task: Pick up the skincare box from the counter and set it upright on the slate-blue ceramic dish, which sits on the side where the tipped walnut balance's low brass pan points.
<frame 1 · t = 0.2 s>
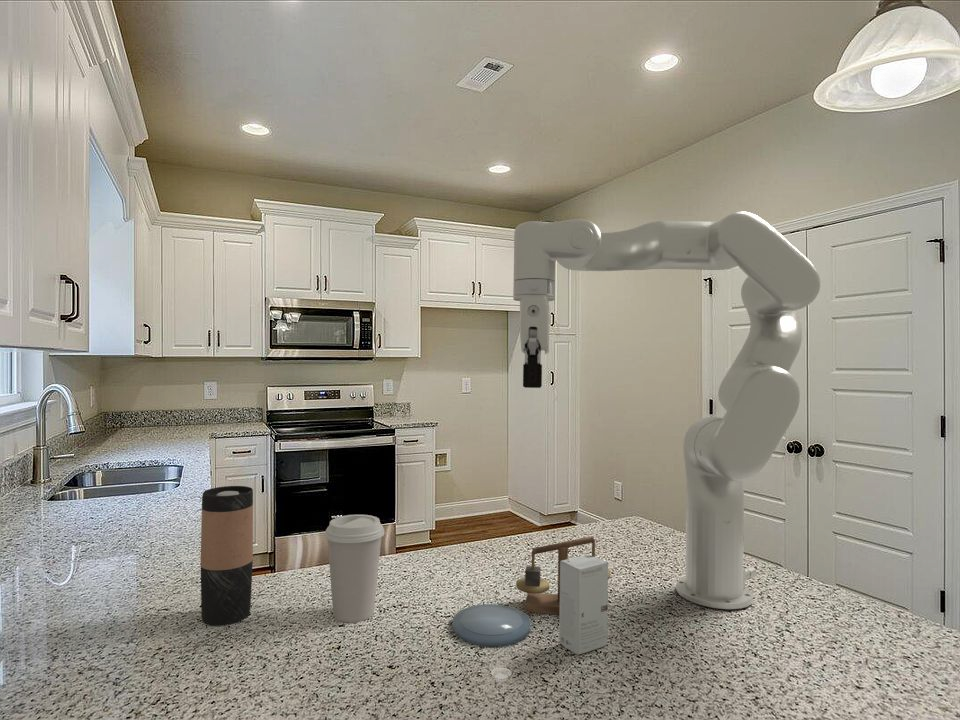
hand: (532, 386, 103), 37 cm above the countertop, tool pointing down, fingers open, 9 cm apart
balance: (562, 608, 95), on the countertop
skincare box: (583, 645, 83), on the countertop
coffee cup: (353, 614, 92), on the countertop
dish: (491, 627, 88), on the countertop
travel mug: (226, 617, 91), on the countertop
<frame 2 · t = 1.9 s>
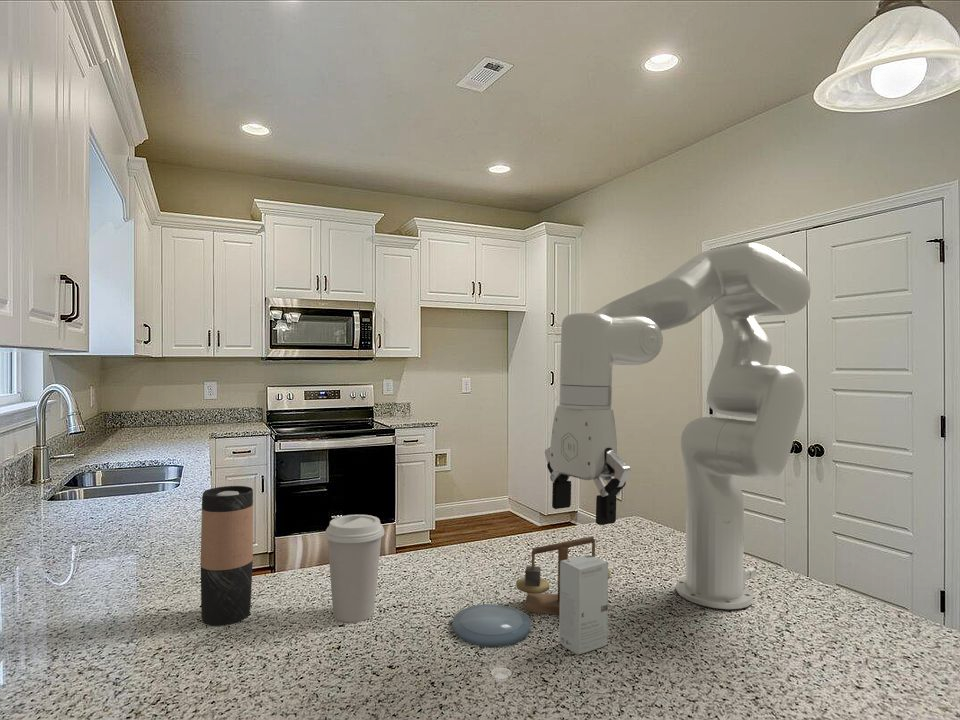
hand: (582, 515, 83), 19 cm above the countertop, tool pointing down, fingers open, 9 cm apart
nothing on the countertop moved.
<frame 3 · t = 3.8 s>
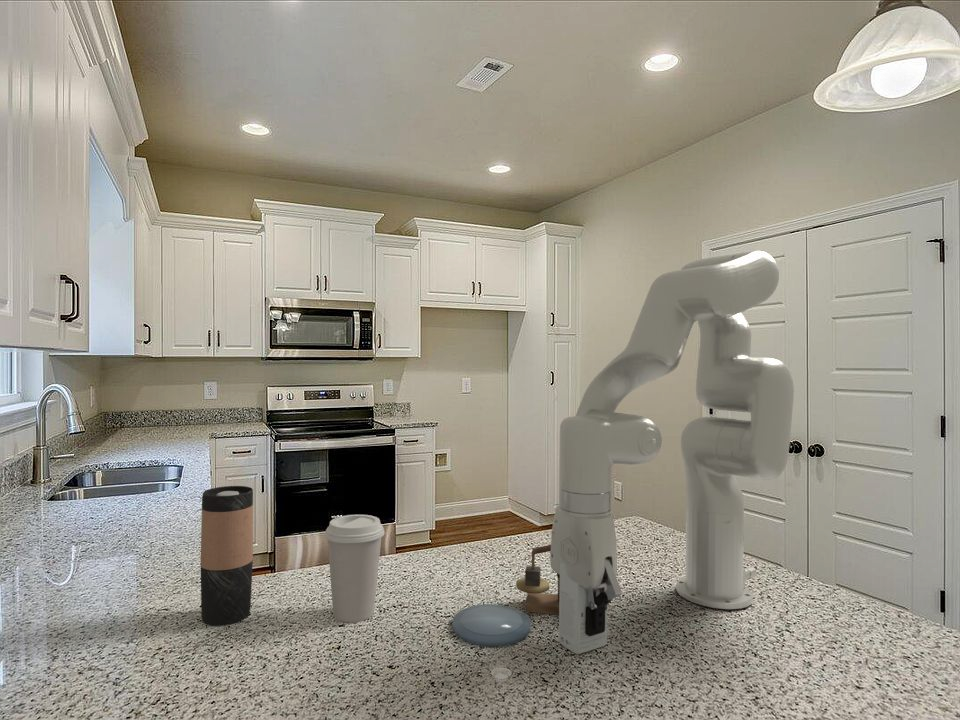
hand: (583, 624, 83), 3 cm above the countertop, tool pointing down, fingers closed on skincare box, 4 cm apart
skincare box: (582, 644, 83), on the countertop, touching gripper
everything else where it was.
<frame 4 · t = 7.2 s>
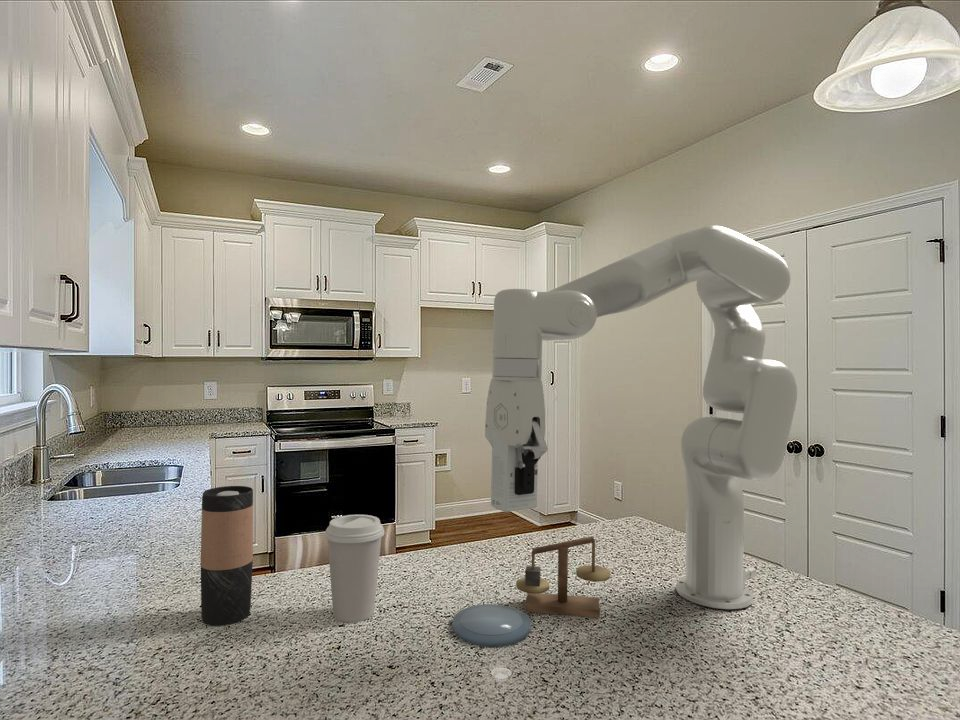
hand: (514, 489, 87), 22 cm above the countertop, tool pointing down, fingers closed on skincare box, 4 cm apart
skincare box: (513, 508, 87), point 19 cm above the countertop, touching gripper
everything else where it was.
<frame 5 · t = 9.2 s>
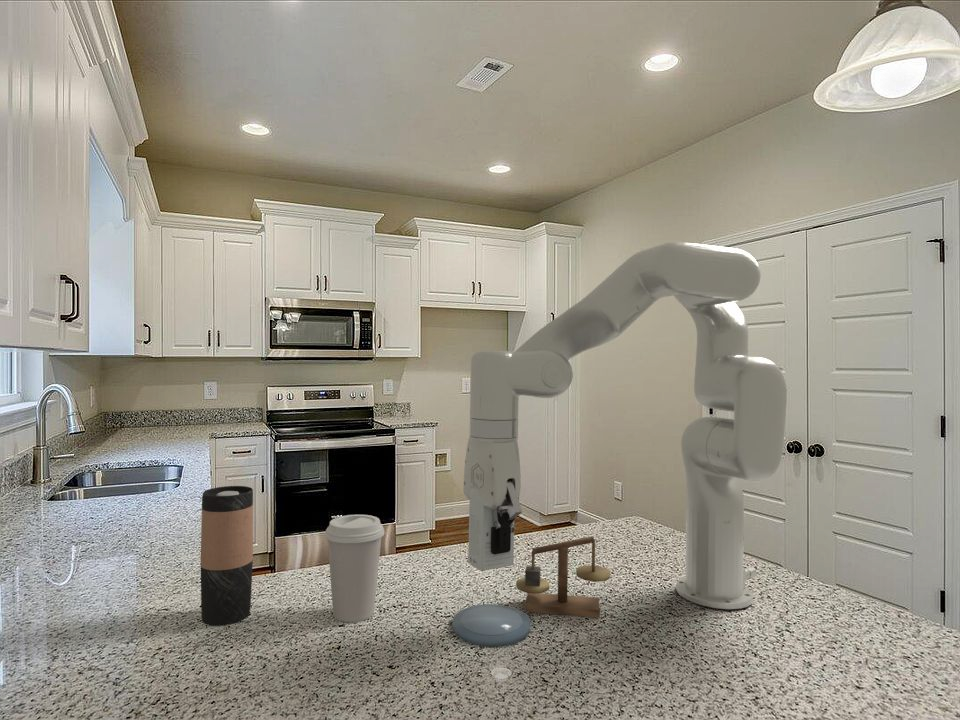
hand: (491, 546, 88), 12 cm above the countertop, tool pointing down, fingers closed on skincare box, 4 cm apart
skincare box: (491, 565, 88), point 10 cm above the countertop, touching gripper
everything else where it was.
when the fingers open (5 cm above the countertop, at t = 10.9 s): skincare box drops 1 cm, resting on dish.
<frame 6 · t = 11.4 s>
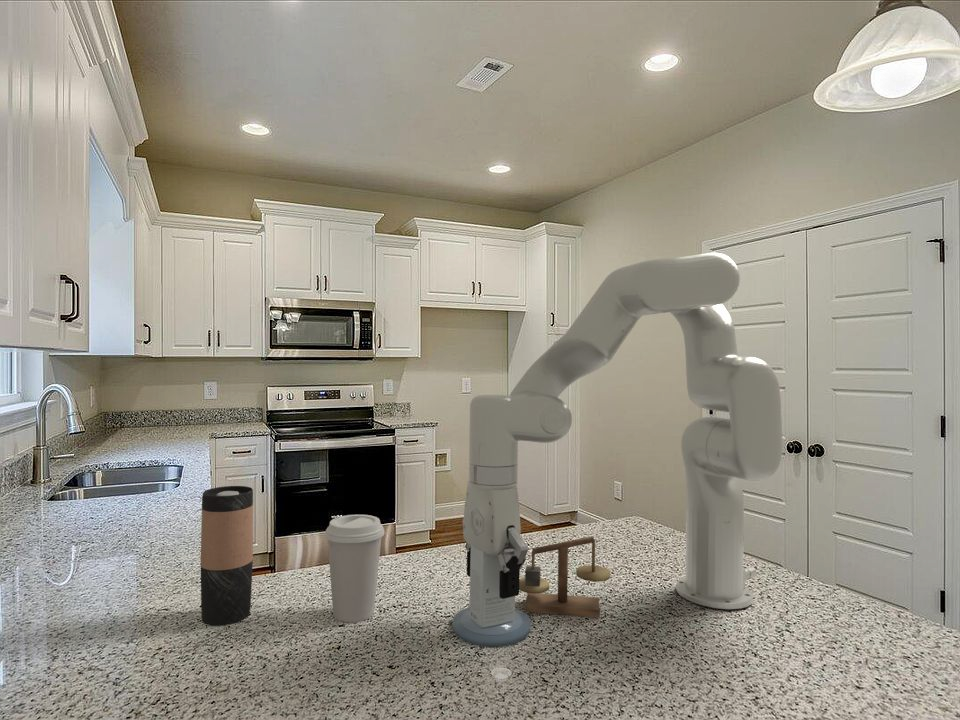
hand: (491, 585, 88), 6 cm above the countertop, tool pointing down, fingers open, 9 cm apart
skincare box: (492, 620, 88), point 1 cm above the countertop, touching dish
everything else where it was.
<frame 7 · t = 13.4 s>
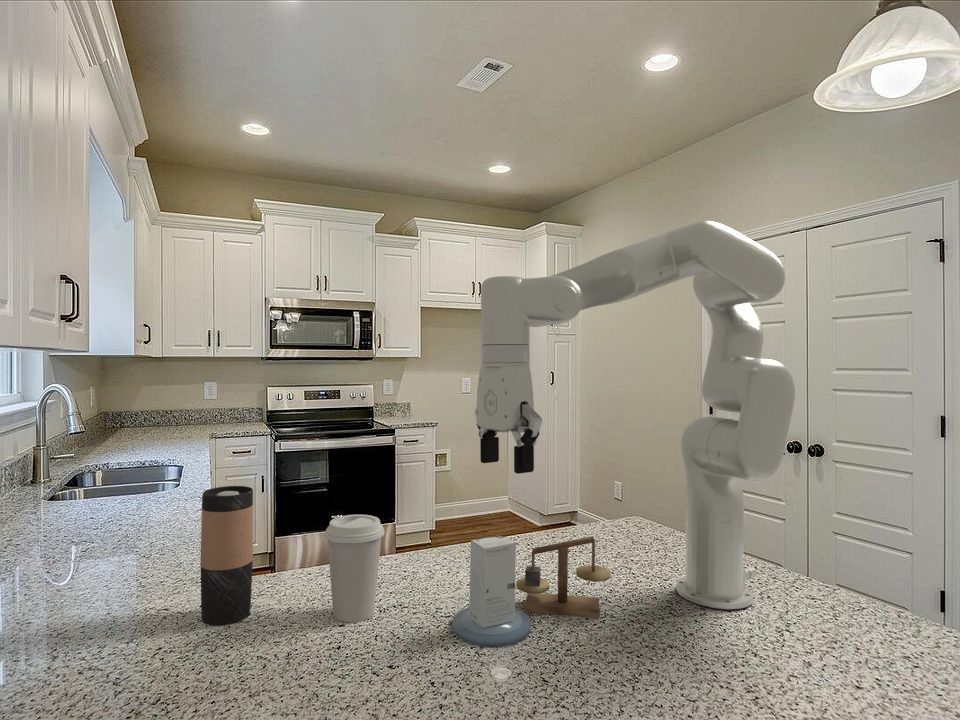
hand: (506, 467, 88), 25 cm above the countertop, tool pointing down, fingers open, 9 cm apart
nothing on the countertop moved.
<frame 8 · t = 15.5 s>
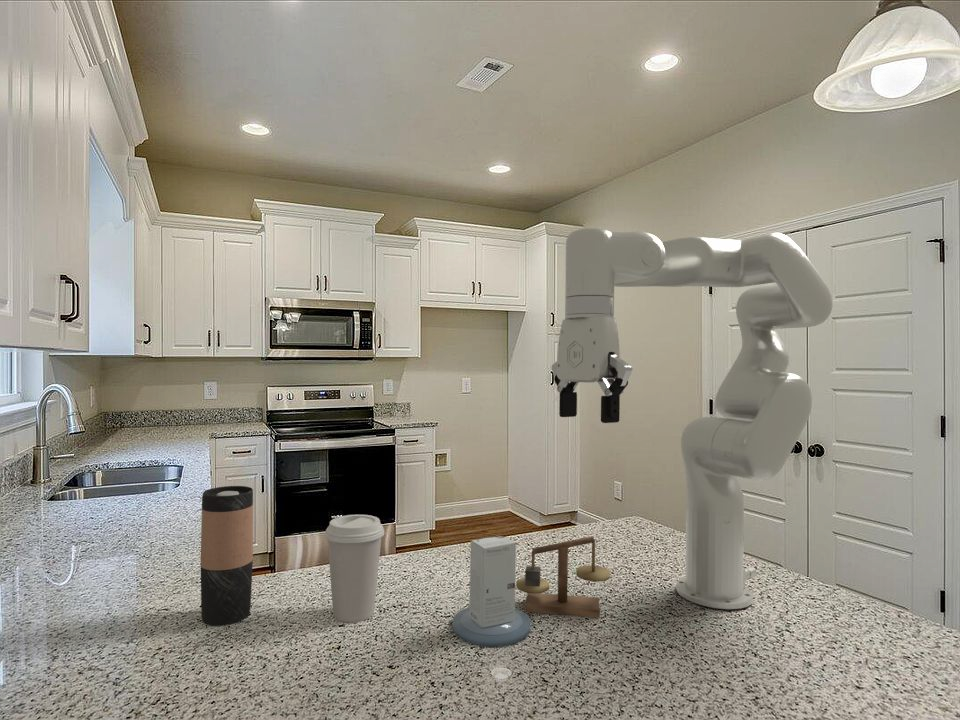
hand: (588, 419, 89), 32 cm above the countertop, tool pointing down, fingers open, 9 cm apart
nothing on the countertop moved.
at the end: skincare box inside the target area on the dish (0.2 cm from its centre), point 0.9 cm above the dish's base; skincare box tilted 0°; the gripper is holding nothing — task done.
